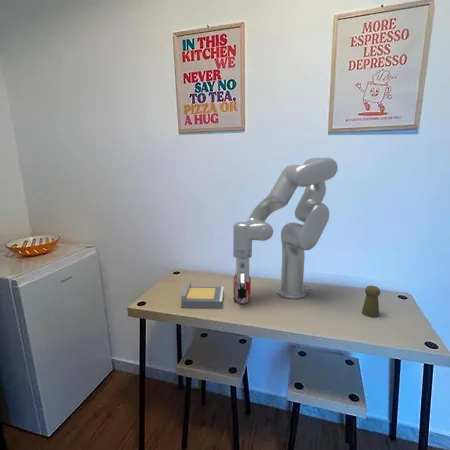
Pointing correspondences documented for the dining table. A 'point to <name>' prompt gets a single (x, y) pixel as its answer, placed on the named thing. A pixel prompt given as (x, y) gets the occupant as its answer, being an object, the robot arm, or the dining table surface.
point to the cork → (371, 302)
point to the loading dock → (202, 297)
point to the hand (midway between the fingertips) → (241, 293)
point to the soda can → (248, 291)
